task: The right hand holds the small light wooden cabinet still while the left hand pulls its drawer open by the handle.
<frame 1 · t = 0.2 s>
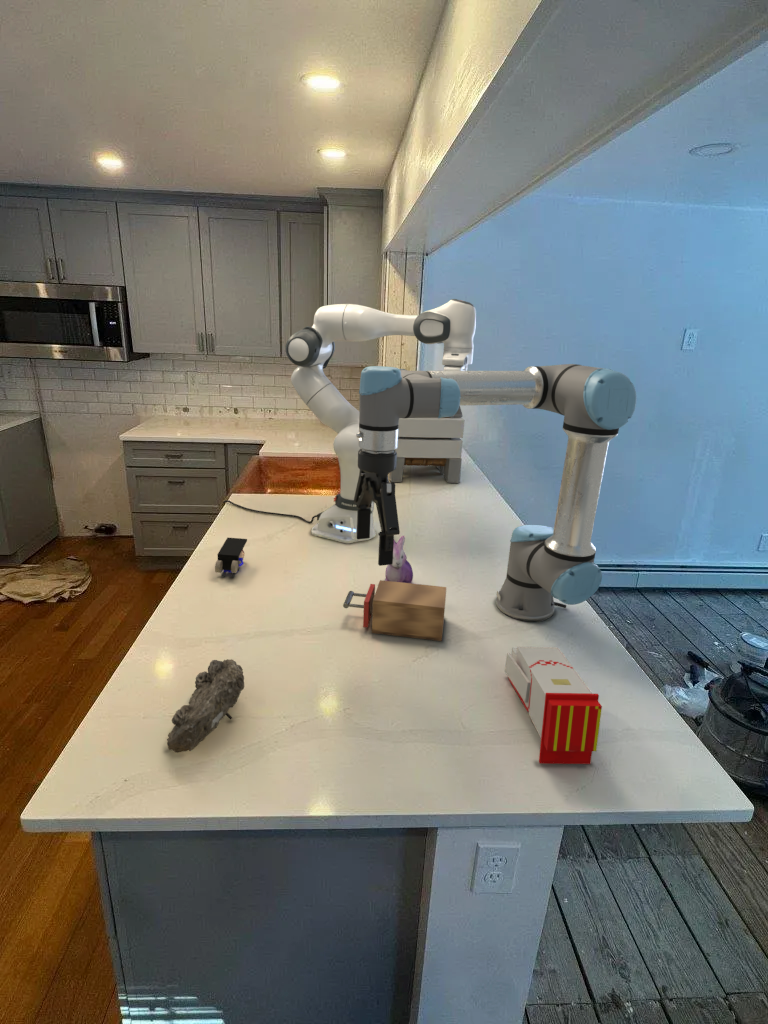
left hand: (453, 403, 174), 48 cm above the counter, tool pointing down, fingers open, 8 cm apart
right hand: (373, 550, 116), 28 cm above the counter, tool pointing down, fingers open, 13 cm apart
figurine: (397, 586, 162), on the counter
figurine character: (232, 569, 168), on the counter
transformer: (419, 473, 275), on the counter
fossil: (212, 717, 108), on the counter
cabinet: (408, 625, 142), on the counter
drawer: (387, 607, 142), point 5 cm above the counter, slide at 1.1 cm
toy: (541, 713, 113), on the counter
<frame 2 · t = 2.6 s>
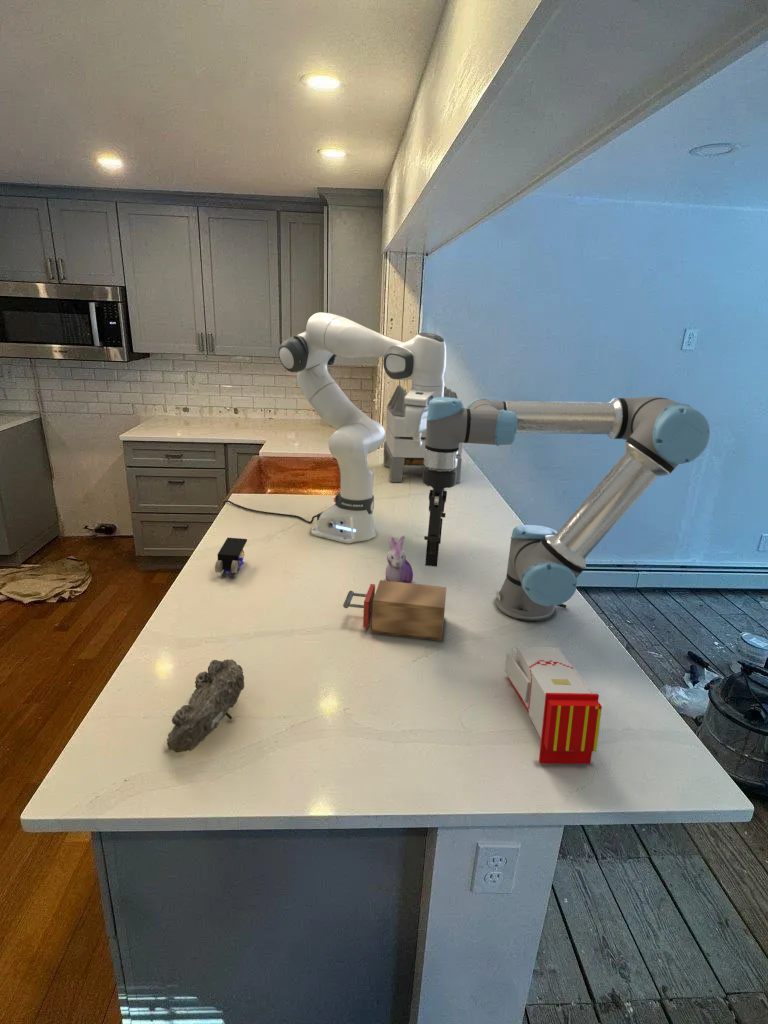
left hand: (424, 444, 160), 39 cm above the counter, tool pointing down, fingers open, 8 cm apart
right hand: (433, 553, 135), 20 cm above the counter, tool pointing down, fingers open, 13 cm apart
nothing on the counter moved.
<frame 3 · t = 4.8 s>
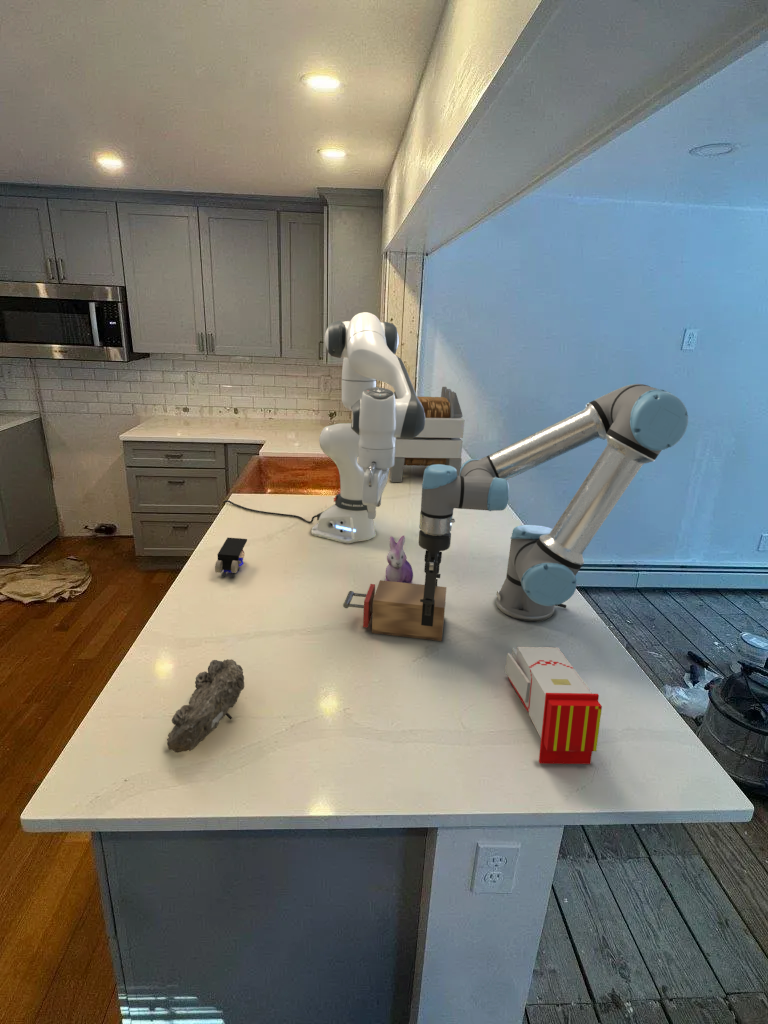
left hand: (374, 511, 141), 27 cm above the counter, tool pointing down, fingers open, 8 cm apart
right hand: (428, 613, 140), 4 cm above the counter, tool pointing down, fingers closed on cabinet, 11 cm apart
cabinet: (408, 625, 142), on the counter, touching right hand
everything else where it was.
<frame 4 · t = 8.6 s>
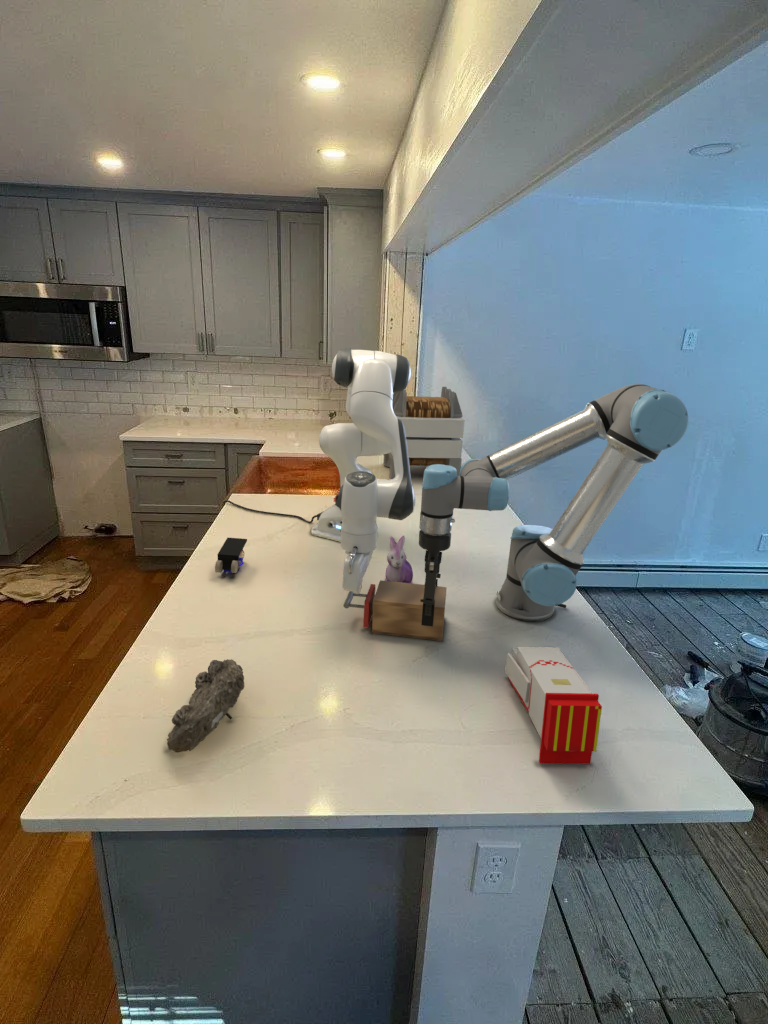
left hand: (357, 591, 141), 8 cm above the counter, tool pointing down, fingers closed
right hand: (428, 613, 140), 4 cm above the counter, tool pointing down, fingers closed on cabinet, 11 cm apart
cabinet: (409, 625, 142), on the counter, touching right hand
everything else where it was.
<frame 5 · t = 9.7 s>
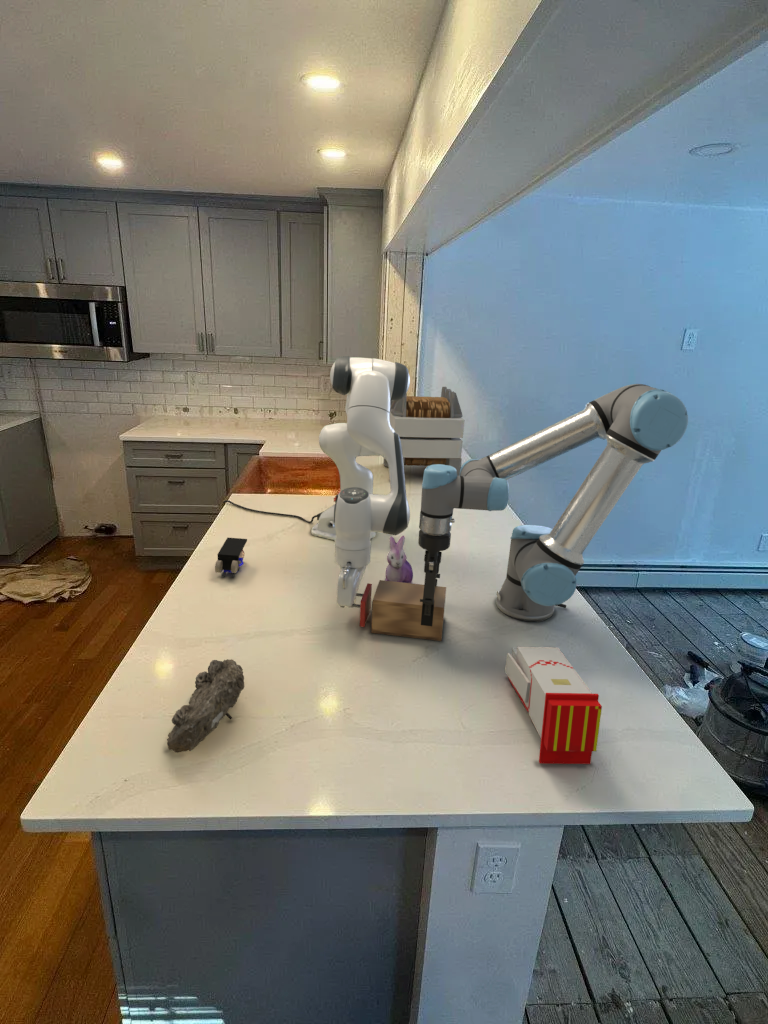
left hand: (351, 604, 143), 4 cm above the counter, tool pointing down, fingers closed, pressing on drawer
right hand: (428, 613, 140), 4 cm above the counter, tool pointing down, fingers closed on cabinet, 11 cm apart
cabinet: (408, 625, 142), on the counter, touching right hand
drawer: (384, 606, 142), point 5 cm above the counter, slide at 1.9 cm, touching left hand
everything else where it was.
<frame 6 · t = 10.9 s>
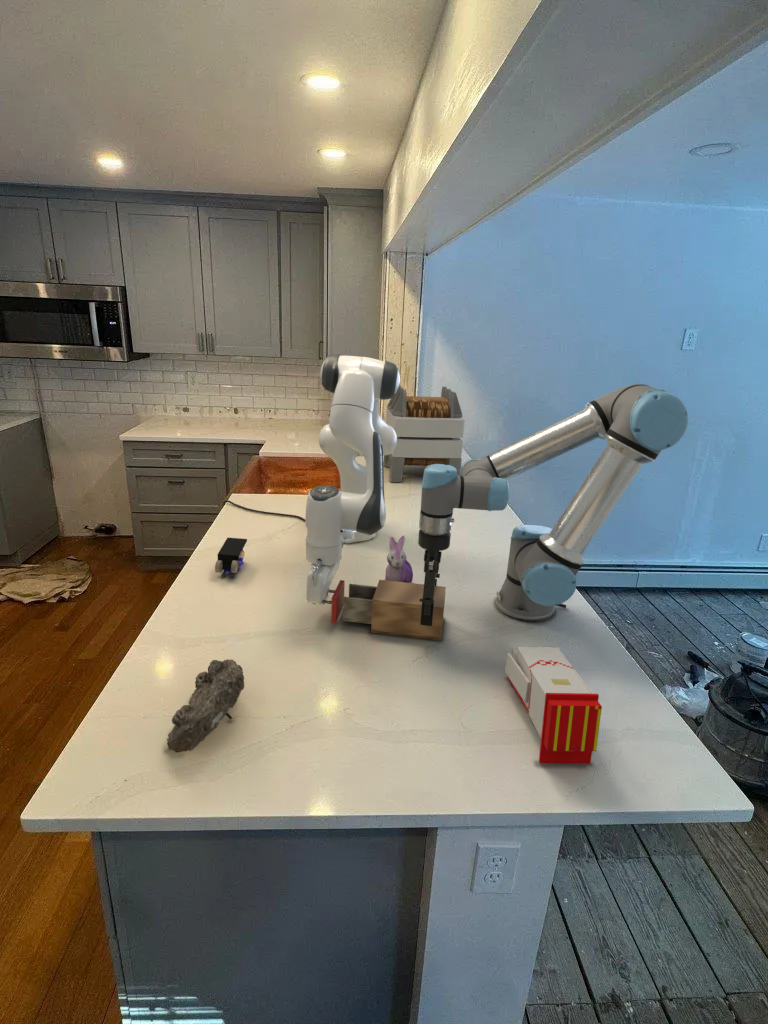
left hand: (323, 601, 144), 4 cm above the counter, tool pointing down, fingers closed, pressing on drawer
right hand: (428, 612, 140), 4 cm above the counter, tool pointing down, fingers closed on cabinet, 11 cm apart
cabinet: (408, 625, 142), on the counter, touching right hand
drawer: (355, 603, 142), point 5 cm above the counter, slide at 8.9 cm, touching left hand
everything else where it was.
when the right hand's fingers open (4 cm above the counter, at t = 12.5 s): cabinet stays where it is, on the counter.
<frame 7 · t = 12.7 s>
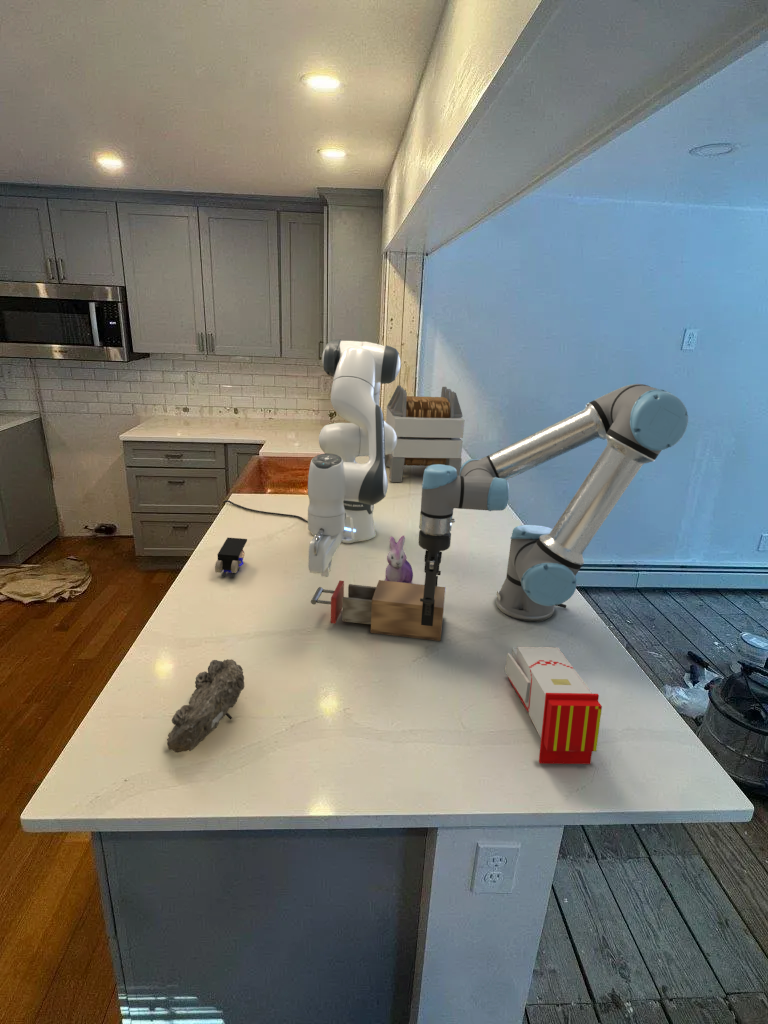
left hand: (325, 574, 141), 12 cm above the counter, tool pointing down, fingers closed
right hand: (428, 611, 140), 5 cm above the counter, tool pointing down, fingers open, 12 cm apart
cabinet: (407, 625, 142), on the counter
drawer: (355, 603, 143), point 5 cm above the counter, slide at 9.0 cm
everything else where it was.
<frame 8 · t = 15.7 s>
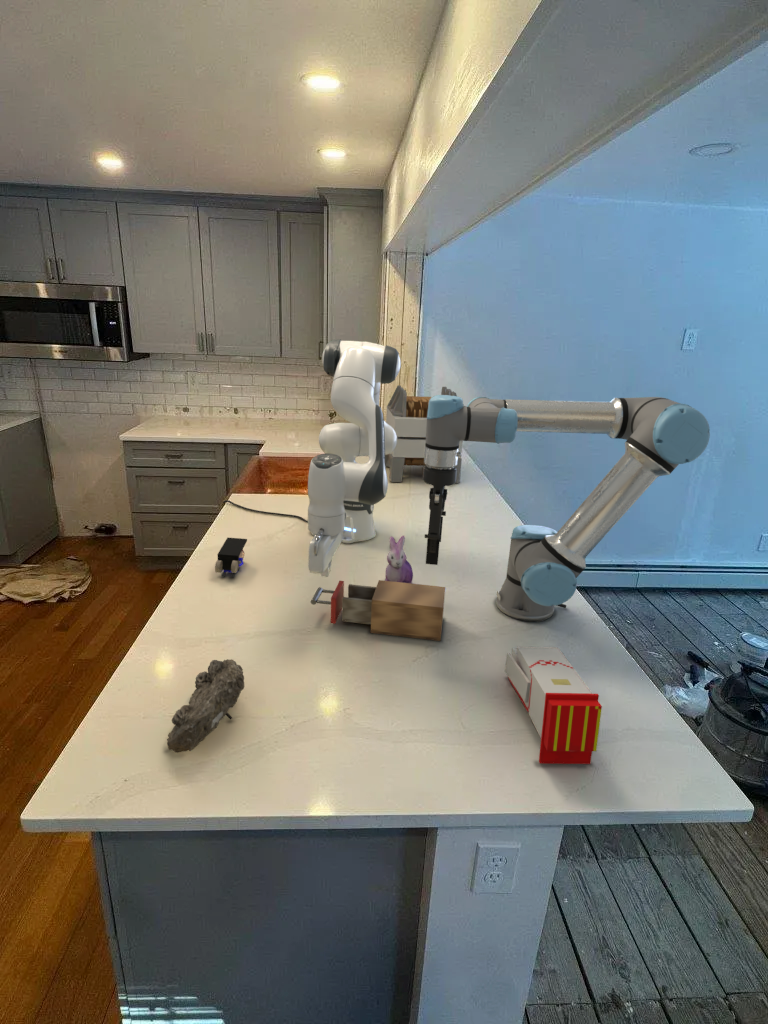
left hand: (325, 574, 141), 12 cm above the counter, tool pointing down, fingers closed
right hand: (433, 552, 135), 21 cm above the counter, tool pointing down, fingers open, 13 cm apart
nothing on the counter moved.
at the end: drawer slide at 9.0 cm; cabinet tilted 0°; cabinet never tilted more than 2° during the clip; cabinet moved 0.3 cm from its start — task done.
